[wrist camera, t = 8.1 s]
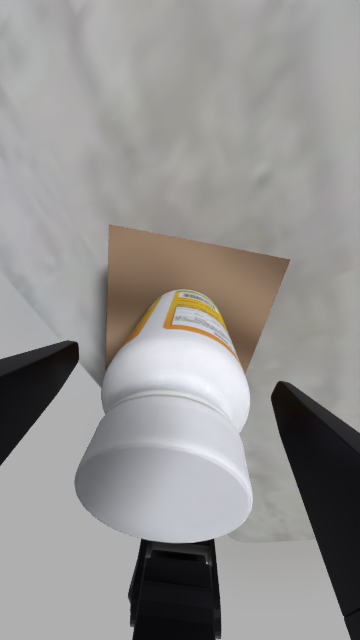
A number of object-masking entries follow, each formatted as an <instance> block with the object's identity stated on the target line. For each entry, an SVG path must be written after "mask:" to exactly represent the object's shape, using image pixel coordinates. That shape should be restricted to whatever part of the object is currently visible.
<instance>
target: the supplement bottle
mask: <svg viewBox="0 0 360 640" xmlns="http://www.w3.org/2000/svg"><path fill="white" fill-rule="evenodd" d="M101 397H102V404H103V409H104V412H105V416H104V417H103V419H102V420H101V421H100V423H99V425H98V427H97V429H96V431H95V434H94V436H93V438H92V440H91V442H90V444H89V446H88V448H87V450H86V452H85V454H84V456H83V458H82V460H81V462H80V464H79V467H78V469H77V472H76V476H75V489H76V494H77V496H78V498H79V500H80V501H81V503H82V505H83V506H84V507H85V508H86V510H87V511H89V512H90V513H91V514H92V515H93V516H94V517H96V518H97V519H98V520H100V521H101V522H103V523H104V524H106V525H108V526H110V527H112V528H113V529H115V530H118V531H120V532H123V533H125V534H128V535H130V536H133V537H137V538H141V539H146V540H151V541H158V542H168V543H194V542H200V541H206V540H210V539H214V538H218V537H220V536H223V535H225V534H228V533H230V532H231V531H233V530H235V529H236V528H238V527H239V526H240V525H241V524H243V522H244V521H245V520H246V519H247V517H248V516H249V514H250V511H251V508H252V502H253V497H252V488H251V483H250V479H249V474H248V469H247V464H246V460H245V455H244V448H243V444H242V441H241V438H240V436H239V433H240V432H241V430H242V428H243V427H244V425H245V423H246V420H247V417H248V414H249V408H250V393H249V387H248V383H247V380H246V377H245V374H244V371H243V369H242V366H241V364H240V361H239V359H238V356H237V354H236V351H235V349H234V346H233V344H232V341H231V339H230V336H229V334H228V331H227V329H226V326H225V324H224V321H223V319H222V316H221V314H220V312H219V310H218V308H217V307H216V305H215V304H214V303H213V302H212V301H211V300H210V299H209V298H208V297H206V296H205V295H203V294H201V293H199V292H196V291H192V290H185V289H181V290H174V291H170V292H168V293H165V294H164V295H162V296H160V297H159V298H158V299H157V300H156V301H155V302H154V303H153V304H152V305H151V306H150V308H149V309H148V310H147V312H146V313H145V315H144V316H143V318H142V319H141V320H140V322H139V323H138V325H137V326H136V328H135V329H134V330H133V332H132V333H131V335H130V336H129V337H128V339H127V340H126V341H125V343H124V344H123V345H122V347H121V348H120V349H119V351H118V352H117V354H116V355H115V357H114V358H113V360H112V362H111V364H110V365H109V367H108V369H107V371H106V373H105V376H104V379H103V384H102V391H101Z"/></svg>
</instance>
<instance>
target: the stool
mask: <svg viewBox="0 0 360 640" xmlns="http://www.w3.org/2000/svg"><path fill="white" fill-rule="evenodd" d="M289 262H290V260H289V259H284V258H279V257H274V256H269V255H264V254H259V253H253V252H248V251H243V250H238V249H233V248H228V247H222V246H217V245H212V244H207V243H202V242H197V241H192V240H186V239H181V238H176V237H171V236H166V235H161V234H155V233H150V232H145V231H140V230H135V229H130V228H125V227H119V226H114V225H109V250H108V292H107V333H106V371H107V369H108V367H109V365H110V364H111V362H112V360H113V358H114V357H115V355H116V354H117V352H118V351H119V349H120V348H121V347H122V345H123V344H124V343H125V341H126V340H127V339H128V337H129V336H130V335H131V333H132V332H133V330H134V329H135V328H136V326H137V325H138V323H139V322H140V320H141V319H142V318H143V316H144V315H145V313H146V312H147V310H148V309H149V308H150V306H151V305H152V304H153V303H154V302H155V301H156V300H157V299H158V298H159V297H160V296H162V295H164V294H165V293H168V292H170V291H174V290H181V289H185V290H192V291H196V292H199V293H201V294H203V295H205V296H206V297H208V298H209V299H210V300H211V301H212V302H213V303H214V304H215V305H216V307H217V308H218V310H219V312H220V314H221V316H222V319H223V321H224V324H225V326H226V329H227V331H228V334H229V336H230V339H231V341H232V344H233V346H234V349H235V351H236V354H237V356H238V359H239V361H240V364H241V366H242V369H243V371H244V374H245V373H246V371H247V368H248V366H249V363H250V361H251V358H252V356H253V353H254V351H255V348H256V345H257V343H258V340H259V338H260V335H261V333H262V330H263V328H264V325H265V323H266V320H267V318H268V315H269V313H270V310H271V308H272V305H273V302H274V300H275V297H276V295H277V292H278V290H279V287H280V285H281V282H282V280H283V277H284V275H285V272H286V270H287V267H288V264H289Z"/></svg>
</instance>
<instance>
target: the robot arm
mask: <svg viewBox="0 0 360 640" xmlns="http://www.w3.org/2000/svg"><path fill="white" fill-rule="evenodd" d="M78 360H79V347H78V343H77V342H74V341H69V340H67V341H63V342H60V343H56V344H53V345H50V346H46V347H42V348H39V349H35V350H32V351H28V352H25V353H21V354H17V355H14V356H10V357H7V358H3V359H0V465H1V464H2V463H3V462H4V460H5V459H6V458H7V457H8V456H9V454H10V453H11V452H12V450H13V449H14V448H15V447H16V445H17V444H18V443H19V441H20V440H21V439H22V438H23V436H24V435H25V434H26V433H27V432H28V430H29V429H30V428H31V426H32V425H33V424H34V423H35V422H36V420H37V419H38V418H39V416H40V415H41V414H42V413H43V411H44V410H45V409H46V408H47V406H48V405H49V404H50V403H51V401H52V400H53V399H54V397H55V396H56V395H57V393H58V392H59V390H60V389H61V388H62V386H63V385H64V383H65V382H66V380H67V379H68V377H69V375H70V374H71V372H72V371H73V369H74V368H75V366H76V364H77V363H78ZM271 401H272V405H273V410H274V414H275V418H276V422H277V426H278V430H279V433H280V437H281V440H282V443H283V446H284V449H285V451H286V454H287V457H288V460H289V463H290V466H291V469H292V471H293V474H294V477H295V480H296V483H297V486H298V489H299V491H300V494H301V497H302V500H303V503H304V506H305V509H306V512H307V514H308V517H309V520H310V523H311V526H312V529H313V532H314V534H315V537H316V540H317V543H318V546H319V549H320V552H321V554H322V557H323V560H324V563H325V566H326V569H327V572H328V574H329V577H330V580H331V583H332V586H333V589H334V592H335V594H336V597H337V600H338V603H339V606H340V609H341V612H342V614H343V616H344V621H345V624H346V627H347V629H348V632H349V635H350V638H351V640H360V433H359V432H357V431H356V430H355V429H353V428H352V427H350V426H349V425H348V424H346V423H345V422H343V421H342V420H341V419H339V418H338V417H337V416H335V415H334V414H332V413H331V412H330V411H328V410H327V409H325V408H324V407H323V406H321V405H320V404H318V403H317V402H316V401H314V400H313V399H311V398H310V397H309V396H307V395H306V394H304V393H303V392H302V391H300V390H299V389H297V388H296V387H295V386H293V385H292V384H290V383H288V382H283V381H279V382H278V383H277V385H276V387H275V389H274V391H273V393H272V395H271ZM206 562H208V564H206ZM128 598H129V601H130V604H131V609H130V613H131V616H130V626H131V627H134V632H133V639H132V640H216V639H215V638H217V639H221V608H220V593H219V583H218V574H217V563H216V553H215V543H214V539H210V540H206V541H200V542H194V543H168V542H158V541H151V540H146V539H141V543H140V549H139V555H138V559H137V563H136V566H135V570H134V574H133V577H132V581H131V585H130V588H129V593H128Z"/></svg>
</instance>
